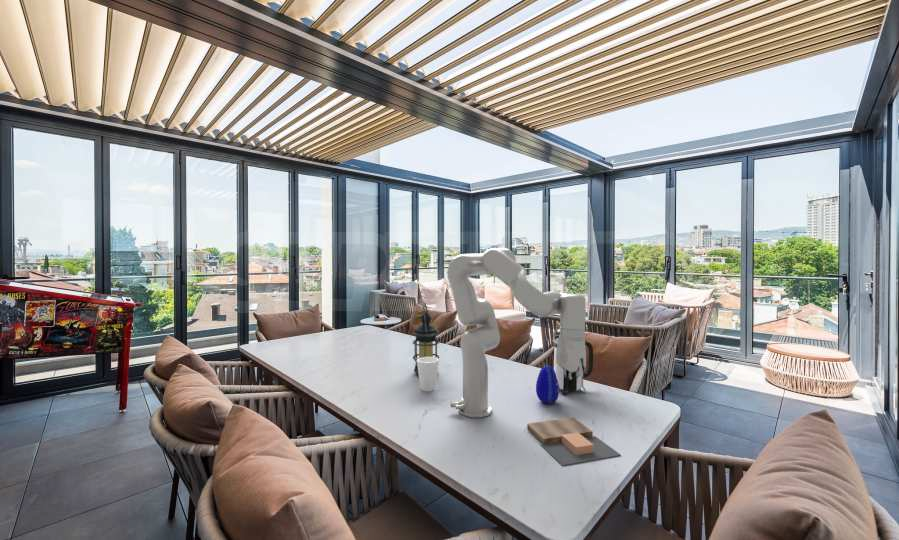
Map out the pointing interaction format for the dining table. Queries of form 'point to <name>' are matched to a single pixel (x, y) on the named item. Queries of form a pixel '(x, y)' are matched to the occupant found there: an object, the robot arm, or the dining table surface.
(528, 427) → the deck
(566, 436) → the tile
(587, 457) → the mat
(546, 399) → the ornament
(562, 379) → the coffee press
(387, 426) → the dining table surface
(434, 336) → the lantern
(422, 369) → the foam cup
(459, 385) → the dining table surface
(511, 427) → the dining table surface
